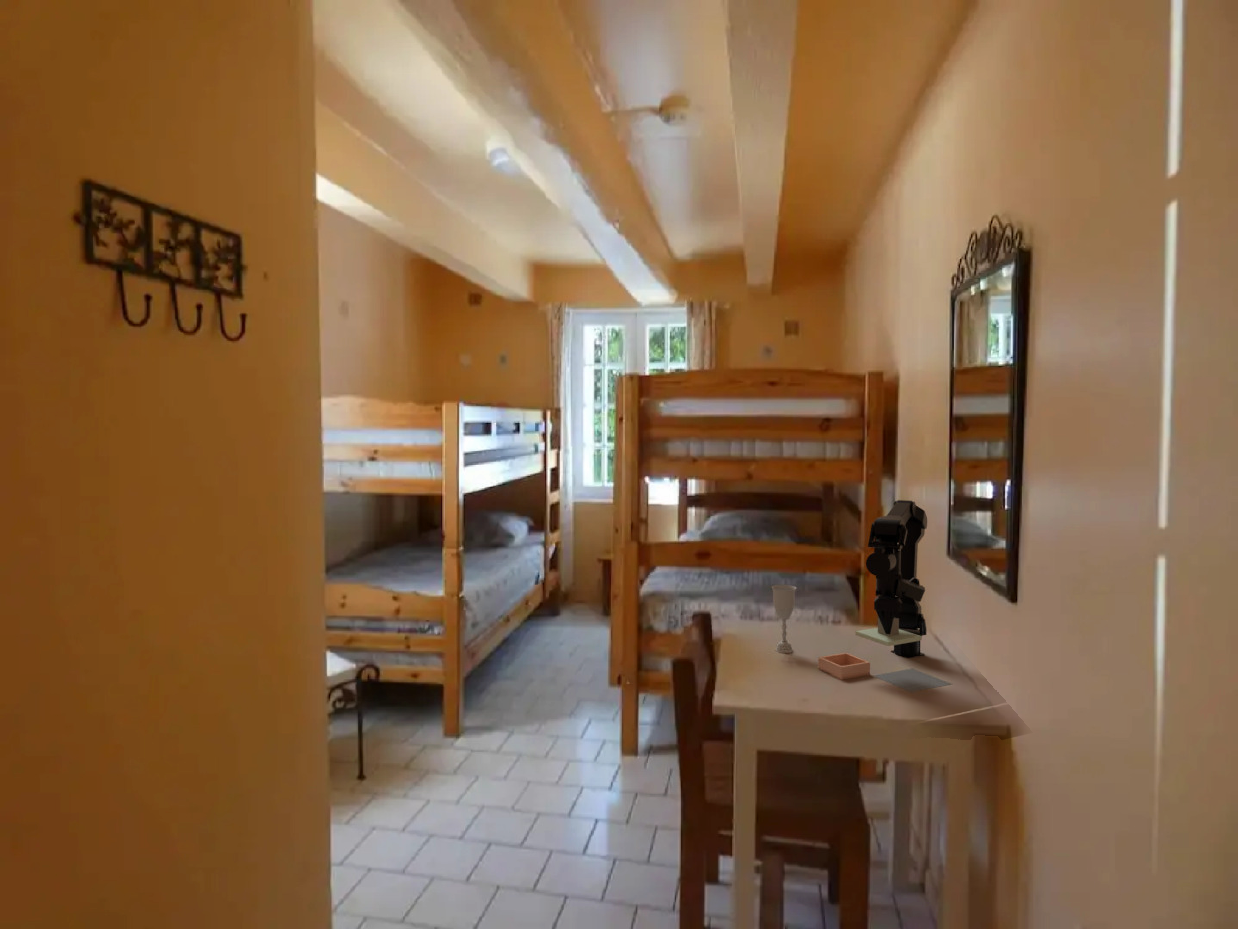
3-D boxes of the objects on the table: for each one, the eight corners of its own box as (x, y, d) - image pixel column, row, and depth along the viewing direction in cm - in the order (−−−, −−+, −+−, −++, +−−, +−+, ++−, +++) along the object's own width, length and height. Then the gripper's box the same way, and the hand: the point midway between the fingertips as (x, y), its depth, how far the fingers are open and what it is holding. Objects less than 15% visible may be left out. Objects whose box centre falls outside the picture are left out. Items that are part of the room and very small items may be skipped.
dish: (846, 665, 200) (846, 652, 200) (869, 676, 192) (870, 662, 192) (818, 670, 197) (818, 657, 197) (841, 681, 189) (841, 667, 188)
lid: (888, 629, 197) (888, 610, 196) (921, 640, 187) (921, 620, 186) (855, 635, 192) (855, 615, 192) (887, 646, 182) (888, 625, 182)
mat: (912, 670, 196) (912, 668, 196) (952, 685, 184) (952, 684, 184) (872, 677, 191) (872, 675, 191) (911, 693, 179) (911, 692, 179)
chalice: (766, 648, 217) (766, 586, 216) (786, 645, 220) (786, 583, 219) (781, 655, 210) (781, 591, 209) (802, 652, 213) (801, 588, 212)
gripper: (924, 578, 177) (924, 644, 178) (921, 564, 195) (921, 624, 195) (874, 575, 181) (873, 640, 182) (876, 562, 198) (875, 621, 199)
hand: (887, 631), depth 189 cm, fingers closed on lid, 5 cm apart
